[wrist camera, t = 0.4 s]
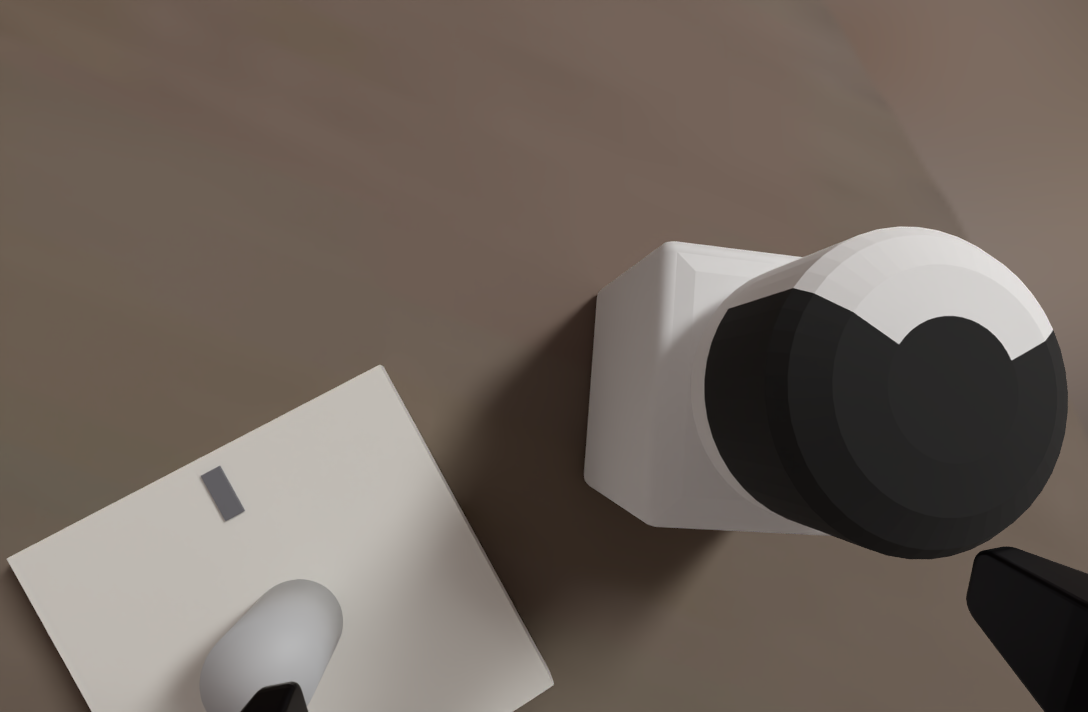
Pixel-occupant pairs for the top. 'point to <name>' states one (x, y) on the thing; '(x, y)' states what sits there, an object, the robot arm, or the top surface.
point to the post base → (288, 577)
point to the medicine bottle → (827, 392)
